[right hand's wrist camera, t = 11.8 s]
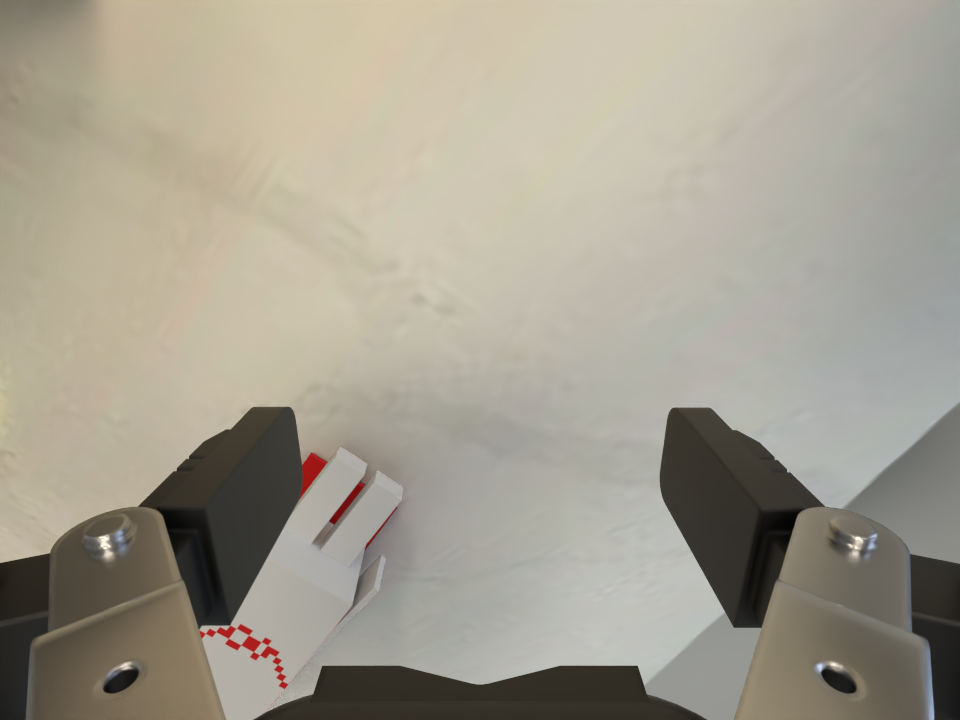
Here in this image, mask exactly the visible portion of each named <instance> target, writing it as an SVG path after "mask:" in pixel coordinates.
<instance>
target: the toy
mask: <svg viewBox="0 0 960 720" xmlns="http://www.w3.org/2000/svg"><path fill="white" fill-rule="evenodd" d="M366 468H367V463H366V462H364V461H363V460H361V459H360V458H358V457H357V456H355V455H353V454H352V453H350V452H349V451H347V450H346V449H344V448H343V447H341V446H340V447H339V449H338V450H337V451H336V452H335V454H334V455H333V456H332V458H331V459H330V460H329V462H326V461H324V460H323V459H321V458H320V457H318V456H316V455H315V454H313V453H311V454H310V455H309V457H308V458H307V460H306V461H305V462H304V464H303V465H302V470H303V485H302V491H301V495H300V498H299V501H298V503H297V505H296V506H295V508H294V510H293V512H292V514H291V516H290V517H289V519H288V521H287V523H286V525H285V527H284V528H283V530H282V532H281V534H280V536H279V537H278V539H277V541H276V543H275V545H274V547H273V548H272V550H271V552H270V554H269V556H268V558H267V559H266V561H265V563H264V565H263V567H262V568H261V570H260V572H259V574H258V576H257V578H256V579H255V581H254V583H253V585H252V587H251V589H250V590H249V592H248V594H247V596H246V598H245V599H244V601H243V603H242V605H241V607H240V609H239V610H238V612H237V614H236V616H235V618H234V620H233V621H232V623H231V625H230V626H201V628H200V630H199V632H200V635H201V638H202V642H203V645H204V648H205V652H206V655H207V658H208V661H209V665H210V668H211V671H212V675H213V678H214V681H215V684H216V688H217V691H218V694H219V698H220V701H221V704H222V708H223V711H224V714H225V717H226V720H253V719H255V718H257V717H259V716H260V715H262V714H264V713H265V712H266V711H267V710H268V709H269V707H270V706H271V705H272V704H273V703H274V701H275V700H276V699H277V698H278V696H279V695H280V694H281V693H282V691H283V690H284V689H285V688H286V687H287V685H288V684H289V683H290V682H291V680H292V679H293V678H294V677H295V676H296V675H297V674H298V673H299V672H300V671H301V670H302V669H303V668H304V667H305V666H306V665H307V664H308V663H309V662H310V661H311V660H312V659H313V658H314V657H315V656H316V655H317V654H318V653H319V652H320V651H321V650H322V649H323V648H324V647H325V646H326V645H327V644H328V643H329V642H330V641H331V640H332V639H333V638H334V637H335V636H336V635H337V634H338V633H339V632H340V631H341V630H342V629H343V628H344V627H345V626H346V625H347V624H348V623H349V622H350V621H351V619H352V618H353V617H354V616H355V615H356V614H357V613H358V612H359V611H360V610H361V609H362V608H363V607H364V606H365V605H366V604H367V603H368V602H369V601H370V600H371V599H372V598H373V597H374V596H375V595H376V594H377V593H378V592H379V590H380V585H381V580H382V575H383V571H384V566H385V561H386V558H385V557H384V556H382V555H381V556H380V557H379V558H378V559H377V560H376V561H375V562H374V563H373V564H372V565H371V566H370V567H369V568H368V569H367V570H366V571H365V572H364V573H363V574H362V575H361V576H360V577H359V573H360V569H361V564H362V560H363V556H364V551H365V550H366V548H367V547H368V546H369V544H370V543H371V542H372V540H373V539H374V538H375V536H376V535H377V534H378V532H379V531H380V530H381V528H382V527H383V526H384V524H385V523H386V522H387V520H388V519H389V518H390V516H391V515H392V514H393V512H394V511H395V510H396V508H397V505H398V504H399V503H400V502H401V500H402V496H403V488H404V487H403V486H401V485H399V484H398V483H396V482H395V481H393V480H392V479H390V478H389V477H387V476H386V475H384V474H383V473H381V472H380V471H378V470H377V471H376V472H375V474H374V475H373V476H372V477H371V479H370V480H369V481H368V483H367V484H366V485H364V484H362V483H360V482H359V481H360V480H361V479H362V478H363V476H364V474H365V471H366Z"/></svg>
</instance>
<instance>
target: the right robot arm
mask: <svg viewBox="0 0 960 720" xmlns="http://www.w3.org/2000/svg"><path fill="white" fill-rule="evenodd" d="M302 485H303V470H302V463H301V455H300V448H299V440H298V433H297V426H296V419H295V414H294V412H293V410H292V409H291V408H290V407H253V408H251V409H250V410H249V411H248V412H247V413H246V414H245V415H244V416H243V417H242V418H241V419H240V421H239V422H238V423H237V424H236V425H235V426H234V427H233V428H232V429H231V430H225V431H223V432H221V433H219V434H217V435H215V436H214V437H212V438H210V439H208V440H206V441H204V442H203V443H202V444H201V445H200V446H199V447H198V448H197V449H196V450H195V451H194V452H193V453H192V454H191V455H190V456H189V459H186V460H185V461H184V462H183V463H182V464H181V465H180V466H179V467H178V468H177V471H174V472H173V473H172V474H171V475H170V476H169V477H168V478H167V479H166V480H165V481H163V482H162V483H161V484H160V485H159V486H158V487H157V488H156V489H155V490H154V491H153V492H152V493H151V494H150V495H149V496H148V497H147V498H146V499H145V500H144V501H143V502H142V503H141V504H140V505H139V506H138V507H129V508H122V509H117V510H113V511H109V512H106V513H103V514H100V515H97V516H95V517H93V518H90V519H88V520H86V521H84V522H82V523H80V524H78V525H77V526H75V527H73V528H72V529H70V530H69V531H68V532H66V533H65V534H64V535H63V536H62V537H60V538H59V539H58V540H57V542H56V543H55V544H54V546H53V547H52V549H51V553H49V554H44V555H39V556H34V557H29V558H24V559H19V560H14V561H9V562H4V563H0V720H226V717H225V714H224V711H223V708H222V704H221V701H220V698H219V694H218V691H217V688H216V684H215V681H214V678H213V675H212V671H211V668H210V665H209V661H208V658H207V655H206V652H205V648H204V645H203V642H202V638H201V635H200V632H199V630H200V628H201V626H230V625H231V623H232V621H233V620H234V618H235V616H236V614H237V612H238V610H239V609H240V607H241V605H242V603H243V601H244V599H245V598H246V596H247V594H248V592H249V590H250V589H251V587H252V585H253V583H254V581H255V579H256V578H257V576H258V574H259V572H260V570H261V568H262V567H263V565H264V563H265V561H266V559H267V558H268V556H269V554H270V552H271V550H272V548H273V547H274V545H275V543H276V541H277V539H278V537H279V536H280V534H281V532H282V530H283V528H284V527H285V525H286V523H287V521H288V519H289V517H290V516H291V514H292V512H293V510H294V508H295V506H296V505H297V503H298V501H299V498H300V495H301V491H302ZM660 488H661V493H662V497H663V500H664V502H665V504H666V506H667V508H668V510H669V511H670V513H671V515H672V517H673V519H674V520H675V522H676V524H677V526H678V528H679V529H680V531H681V533H682V535H683V537H684V538H685V540H686V542H687V544H688V546H689V547H690V549H691V551H692V553H693V555H694V556H695V558H696V560H697V562H698V564H699V565H700V567H701V569H702V571H703V573H704V574H705V576H706V578H707V580H708V582H709V583H710V585H711V587H712V589H713V591H714V592H715V594H716V596H717V598H718V600H719V601H720V603H721V605H722V607H723V609H724V610H725V612H726V614H727V616H728V618H729V619H730V621H731V623H732V625H733V627H734V628H761V632H760V635H759V639H758V642H757V645H756V648H755V652H754V655H753V658H752V661H751V665H750V668H749V671H748V675H747V678H746V681H745V684H744V688H743V691H742V694H741V698H740V701H739V704H738V708H737V711H736V714H735V717H734V720H960V564H958V563H952V562H947V561H942V560H937V559H932V558H927V557H922V556H917V555H912V554H910V553H909V549H908V547H907V546H906V544H905V543H904V542H903V540H902V539H901V538H900V537H898V536H897V535H896V534H895V533H894V532H892V531H891V530H890V529H888V528H887V527H885V526H883V525H882V524H880V523H878V522H876V521H874V520H872V519H870V518H867V517H865V516H863V515H860V514H857V513H854V512H851V511H847V510H843V509H838V508H831V507H825V506H824V505H823V504H822V503H821V502H820V501H819V500H818V499H817V498H816V497H815V496H814V495H813V494H812V493H811V492H810V491H809V490H808V489H807V488H806V487H805V486H803V485H802V484H801V483H800V482H799V481H798V480H797V479H796V478H795V477H794V476H793V475H792V474H791V473H787V469H786V468H785V467H784V466H783V465H782V464H781V463H780V462H779V461H778V460H775V459H774V456H773V455H772V454H771V453H770V452H769V451H768V450H767V449H766V448H765V447H763V446H762V445H761V444H760V443H759V442H757V441H756V440H754V439H752V438H750V437H748V436H746V435H744V434H743V433H741V432H739V431H737V430H732V429H731V428H730V427H729V426H728V425H727V424H726V423H725V422H724V421H723V420H722V419H721V418H720V417H719V416H718V415H717V414H716V413H715V412H714V411H713V410H712V409H711V408H672V409H671V410H670V412H669V415H668V419H667V425H666V432H665V440H664V447H663V454H662V462H661V469H660ZM253 720H706V719H705V718H703V717H701V716H700V715H698V714H696V713H694V712H692V711H690V710H688V709H686V708H683V707H681V706H679V705H677V704H675V703H672V702H669V701H666V700H663V699H661V698H658V697H655V696H651V695H647V694H646V691H645V688H644V684H643V681H642V678H641V675H640V672H639V669H638V666H558V667H554V668H550V669H546V670H542V671H538V672H534V673H530V674H526V675H522V676H518V677H514V678H510V679H506V680H502V681H498V682H494V683H490V684H484V685H476V684H470V683H466V682H462V681H458V680H454V679H450V678H446V677H442V676H438V675H434V674H430V673H426V672H422V671H418V670H414V669H410V668H406V667H402V666H322V669H321V672H320V675H319V678H318V681H317V684H316V688H315V691H314V694H313V695H309V696H305V697H302V698H299V699H297V700H294V701H291V702H288V703H285V704H283V705H281V706H279V707H276V708H274V709H272V710H270V711H268V712H266V713H264V714H262V715H260V716H259V717H257V718H255V719H253Z"/></svg>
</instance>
